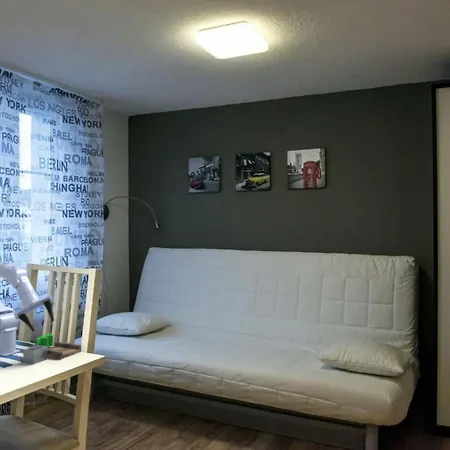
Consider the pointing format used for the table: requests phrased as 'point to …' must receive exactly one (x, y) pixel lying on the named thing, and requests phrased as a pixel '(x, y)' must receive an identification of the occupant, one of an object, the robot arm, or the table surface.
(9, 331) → the robot arm
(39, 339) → the pipe clamp
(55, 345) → the board
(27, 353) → the block
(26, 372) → the table surface
